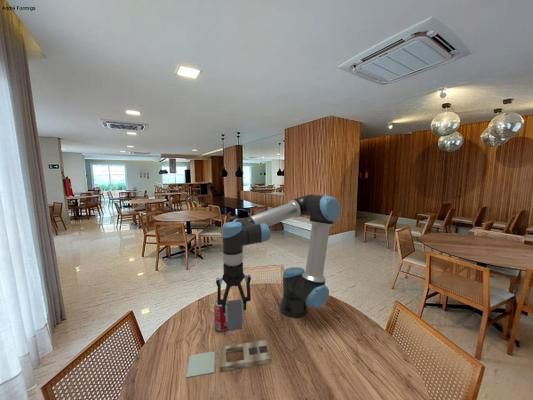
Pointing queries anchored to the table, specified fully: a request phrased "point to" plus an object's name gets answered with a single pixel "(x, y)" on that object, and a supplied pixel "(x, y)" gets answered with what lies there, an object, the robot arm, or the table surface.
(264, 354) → the plate
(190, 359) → the mat
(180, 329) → the table surface
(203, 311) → the table surface
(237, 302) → the block
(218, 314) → the soda can
